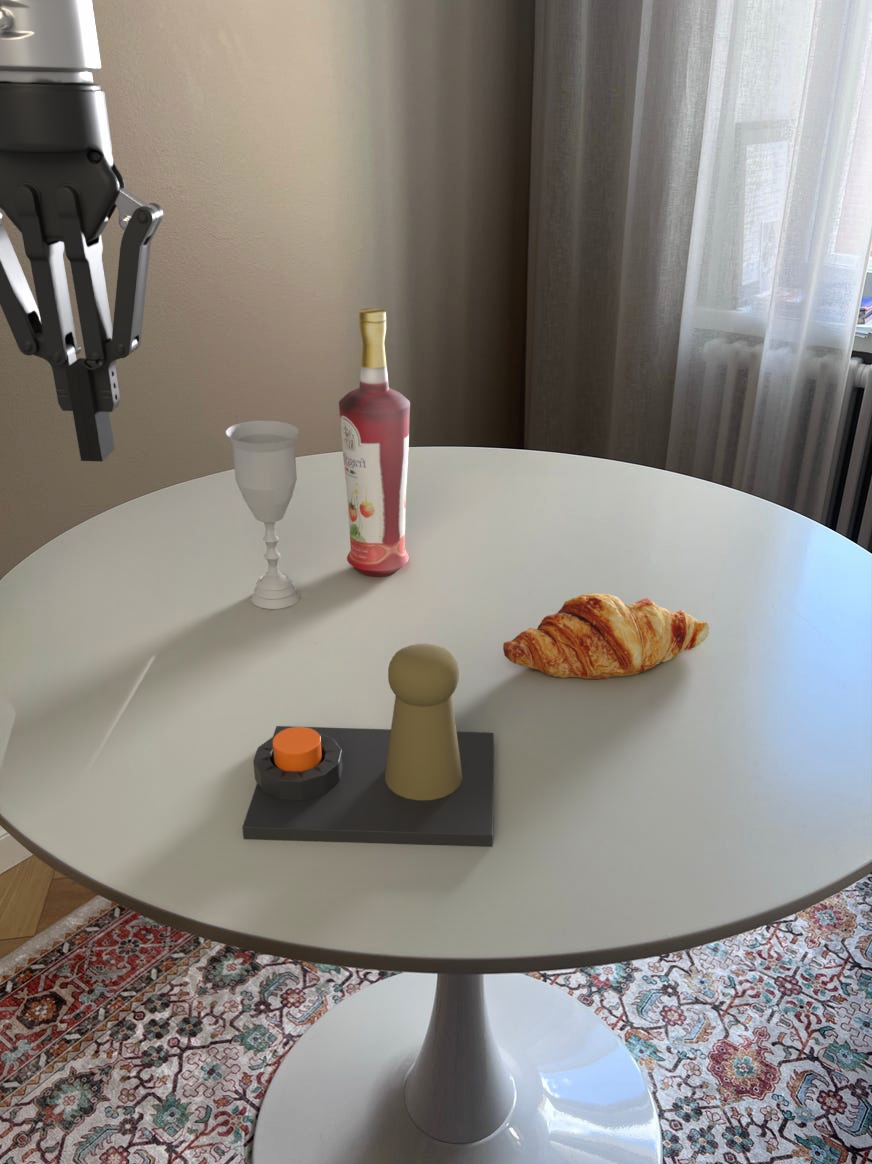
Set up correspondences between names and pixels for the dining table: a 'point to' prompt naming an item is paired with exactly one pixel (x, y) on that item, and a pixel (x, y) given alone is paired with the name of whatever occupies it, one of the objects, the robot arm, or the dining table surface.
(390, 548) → the liquor
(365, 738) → the base
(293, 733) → the switch
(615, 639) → the croissant
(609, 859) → the dining table surface
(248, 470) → the chalice
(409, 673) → the cork
